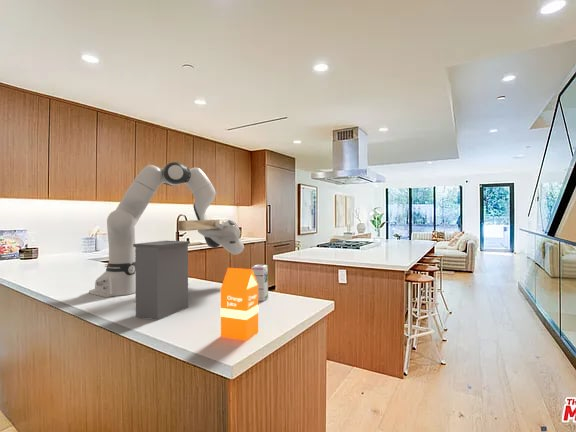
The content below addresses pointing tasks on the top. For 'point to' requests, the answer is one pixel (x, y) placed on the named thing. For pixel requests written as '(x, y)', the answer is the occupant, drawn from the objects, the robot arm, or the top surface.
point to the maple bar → (196, 225)
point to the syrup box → (261, 281)
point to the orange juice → (239, 304)
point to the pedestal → (161, 278)
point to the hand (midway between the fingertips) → (210, 223)
